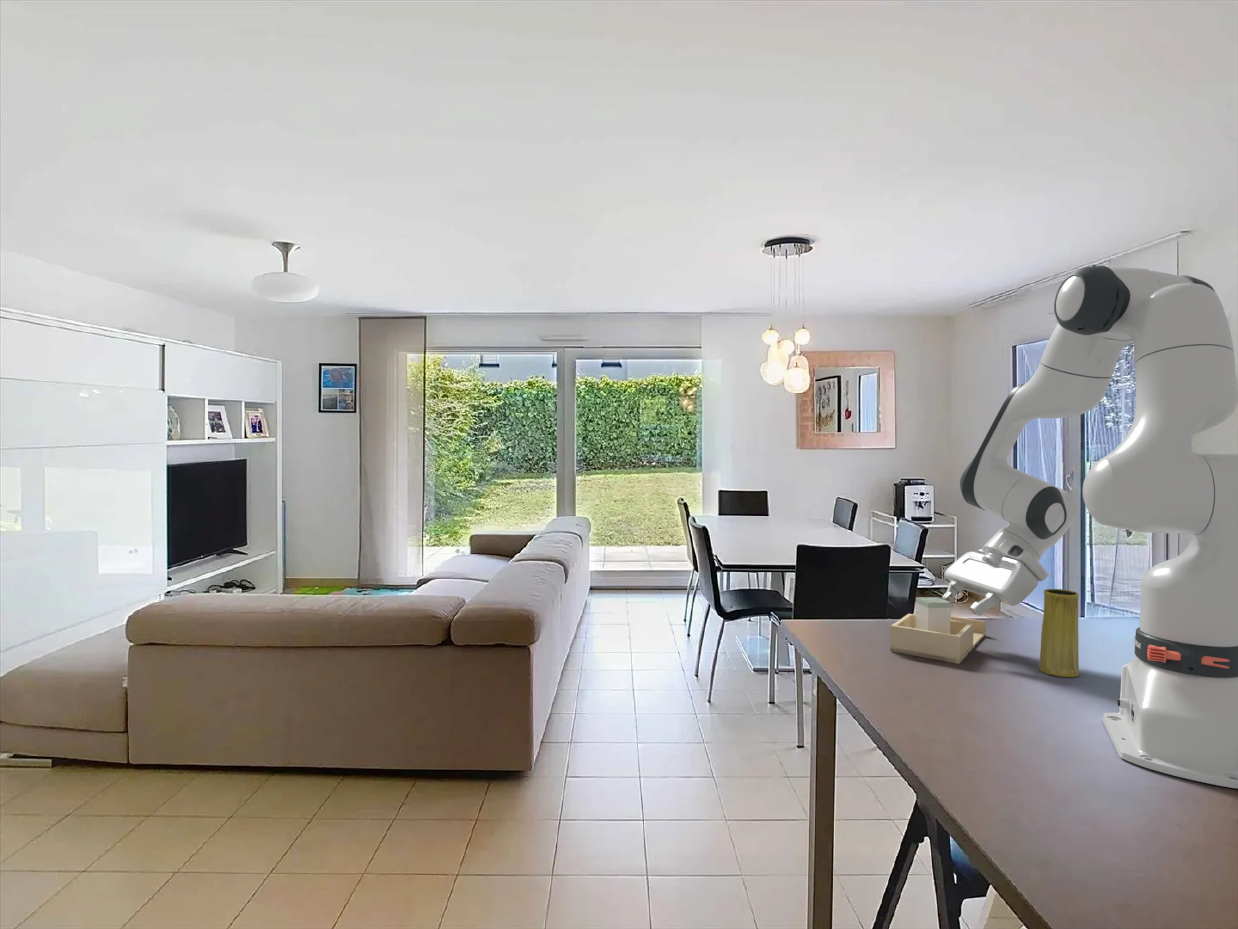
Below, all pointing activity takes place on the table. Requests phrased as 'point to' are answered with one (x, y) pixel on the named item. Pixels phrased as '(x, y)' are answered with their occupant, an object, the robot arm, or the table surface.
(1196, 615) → the robot arm
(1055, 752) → the table surface
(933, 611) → the carton
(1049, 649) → the vase
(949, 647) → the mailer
